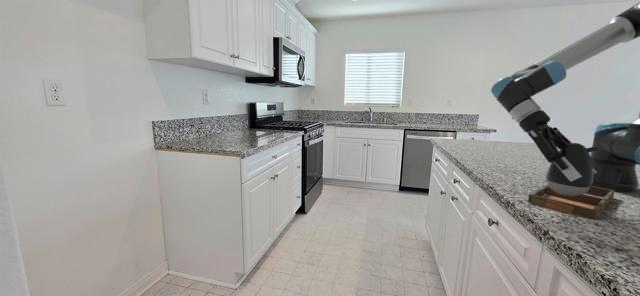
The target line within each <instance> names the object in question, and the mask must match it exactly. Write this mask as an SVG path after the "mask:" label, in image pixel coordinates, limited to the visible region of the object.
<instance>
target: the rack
mask: <svg viewBox="0 0 640 296" xmlns="http://www.w3.org/2000/svg"><path fill="white" fill-rule="evenodd" d="M615 191H616V190H610V189H605V188H599V187H595V186H591V187H590V188H589V190H588V191H587V192H586V193H584V194H582V195H579V196H568V195H563V194H559V193H557V192H555V191H553V190H552V189H551V188H550V187H549V186H548V183H547V184H546V185H545V184H544V186H542V187H539V188H538V189H536V190H534V191H533V192H531V193H529V195H528V198H527V199H528V200H527V203H530V204H532V205H533V204H534V205H537V206H541V207H546V208H548V209H552V210H556V211H561V212H565V213H568V214H570V215H574V216H575V215H576V216H579V217H582V218H587V219H591V220H594V221H595V220H596V219H597V218H598V217H599V216H600V214H601V213H602V212H603V211H604V209H605V208H606V207H607V206H608V205H609V203H611V201H612V200H613V199H614V196H615ZM588 194H590V195H588ZM592 195H593V196H592ZM594 195H595V196H594ZM597 196H599V197H597ZM601 197H602V198H601Z"/></svg>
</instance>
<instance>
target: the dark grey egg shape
mask: <svg viewBox="0 0 640 296" xmlns="http://www.w3.org/2000/svg"><path fill="white" fill-rule="evenodd" d="M595 150H597V147H592V146H591V147H586V146H585V145H584V144H581V143H578V142H572V143H570V144H567V145H565V146H564V147H562V148H561V149H559V150H558V151H559V153H560V154H561V156H562V157H565V158H566V159H567V160H568V161H569V163H570V164H571V165H572V166H573V167H574V168H575V169H576V170H577V171H578V173H579V174H580V175H581V176H582V177H580V178H578V179H576V180H574V181H571V182H570V180H569V179H568V178H567V177H566V176H565V175H564V173H563V172H562V171H561V170H560V169H559V168H558V167H557V165H556V164H555V163H554V161H553V162H551V163H549V165H548V168H547V172H546V175H545V179H546V182H547V184H548V186H549V187H550V188H551V189H552V190H553V191H555V192H557V193H559V194H563V195H568V196H579V195H582V194H584V195H585V194H587V193H586V192H587V191H588V190H589V188H590V187H591V186H592V184H593V165H592V161H591V157H590V155H591V152H592V151H595ZM562 157H561V158H562Z"/></svg>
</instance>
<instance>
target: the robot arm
mask: <svg viewBox="0 0 640 296" xmlns="http://www.w3.org/2000/svg"><path fill="white" fill-rule="evenodd" d="M637 38H640V1H639V2H638V3H636V4H634V5H633V6H631V7H629V8H628V9H626V10H625V11H622V12H620V13H619V14H617V15H616V16H614V17H612V18H611V19H610V20H609V21H608V22H607V24H605V25H603V26H602V27H600V28H598V29H596V30H594V31H592V32H590V33H589V34H587V35H585V36H583V37H582V38H579V39H577V40H575V41H574V42H572V43H570V44H568V45H566V46H564V47H563V48H561V49H558V50H557V51H555V52H553V53H552V54H549V55H548V56H546V57H544V58H542V59H539V61H537V62H535V63H533V64H531V65H529V66H527V67H525V68H523V69H521V70H518V71H515V72H514V73H511V74H510V75H509V76H505V77H502V78H500V79H499V80H497V81H496V82H495V83H494V84H493V85H492V87H491V89H490V91H491V92H490V93H491V94H492V95H493V96H494V98H495V99H496V101H498V103H500V105H501V106H502V107H503V108H504V110H506V112H508V114H509V115H510V116H511V120H514V121H515V122H516V123H517V124H518V125H519V127H520V129H522V131H523V132H525V133H526V134H527V135H528V136H529V137H530V138H531V140H532V141H533V142H534V144H535V145H536V146H537V148H538V149H539V151H540V152H541V154H542V155H543V157H544V158H545V160H546V161H547V162H548V163H549V164H551V162H553V161H554V163H555V164H556V165H557V167H558V168H559V169H560V170H561V171H562V172H563V173H564V175H565V176H566V177H567V178H568V179H569V180H570V182H571V181H574V180H576V179H578V178H580V177H582V176H581V175H580V174H579V173H578V171H577V170H576V169H575V168H574V167H573V166H572V165H571V164H570V163H569V161H568V160H567V159H566V158H565V157H562V156H561V154H560V153H559V151H560V149H561V148H562V147H564V146H565V145H567V144H570V143H573V142H572V141H571V140H570V139H569V138H568V137H566V136H565V135H564V134H563V132H561V131H560V130H559V129H558V128H557V127H556V126H555V127H552V126H550V125H549V124H548V123H549V122H550V121H551V117H550V115H548V114H547V113H546V111H544V110H542V107H541V106H540V105H539V104H538V103H537V102H536V101H535V100H534V99H533V97H534V96H535V95H538V94H539V93H542V92H543V91H545V90H548V89H549V88H551V87H553V86H556V85H557V84H560V83H561V82H562V81H564V80H565V79H566V78H567V71H568V70H570V69H571V68H573V67H575V66H577V65H579V64H581V63H583V62H585V61H587V60H589V59H591V58H593V57H594V56H597V55H599V54H601V53H603V52H604V51H605V52H606V51H607V50H609V49H611V48H613V47H615V46H617V45H619V44H620V43H621V44H622V43H624V44H625V43H629V42H631V41H633V40H635V39H637ZM593 136H594V137H593V142H592V146H591V147H597V150H595V151H592V152H590V157H591V161H592V165H593V184H592V186H594V187H599V188H605V189H610V190H615V191H616V192H617V191H619V192H637V191H638V190H639V185H640V183H639V180H638V176H637V171H636V165H637V166H640V111H639V113H638V117H637V118H635V119H634V120H632V121H630V122H623V123H622V122H612V123H611V122H608V123H607V122H605V123H600V124H598V125H597V126H596V129H595V131H594V133H593ZM561 157H562V158H561Z"/></svg>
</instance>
